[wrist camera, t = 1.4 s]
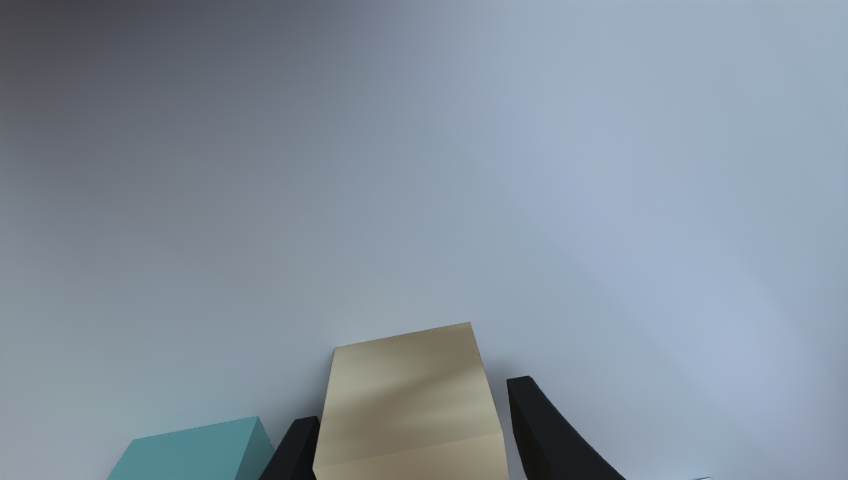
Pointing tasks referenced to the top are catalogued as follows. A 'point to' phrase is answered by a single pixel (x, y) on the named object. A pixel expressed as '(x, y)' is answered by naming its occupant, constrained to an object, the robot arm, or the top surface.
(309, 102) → the top surface
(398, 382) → the birch brick
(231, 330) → the top surface
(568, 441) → the robot arm
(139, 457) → the teal brick
